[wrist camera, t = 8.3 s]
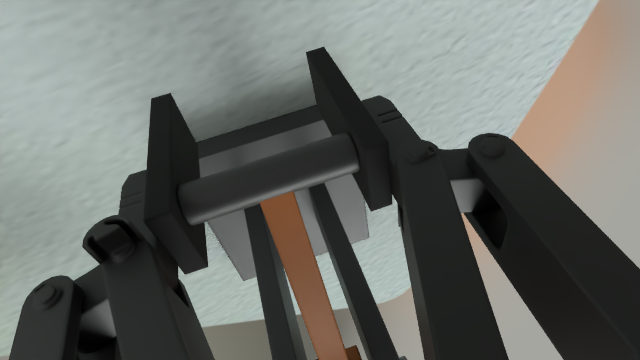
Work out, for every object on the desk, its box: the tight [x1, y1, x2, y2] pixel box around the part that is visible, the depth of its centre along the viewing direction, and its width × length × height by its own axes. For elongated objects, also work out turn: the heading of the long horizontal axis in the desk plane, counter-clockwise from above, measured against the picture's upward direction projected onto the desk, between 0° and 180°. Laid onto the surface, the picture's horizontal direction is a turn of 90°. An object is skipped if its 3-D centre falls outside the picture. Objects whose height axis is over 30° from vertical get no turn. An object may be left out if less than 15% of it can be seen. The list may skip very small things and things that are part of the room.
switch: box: [177, 132, 362, 360], centre depth 15 cm, size 13×6×2 cm, turn 11°
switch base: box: [197, 105, 407, 360], centre depth 21 cm, size 12×10×15 cm
